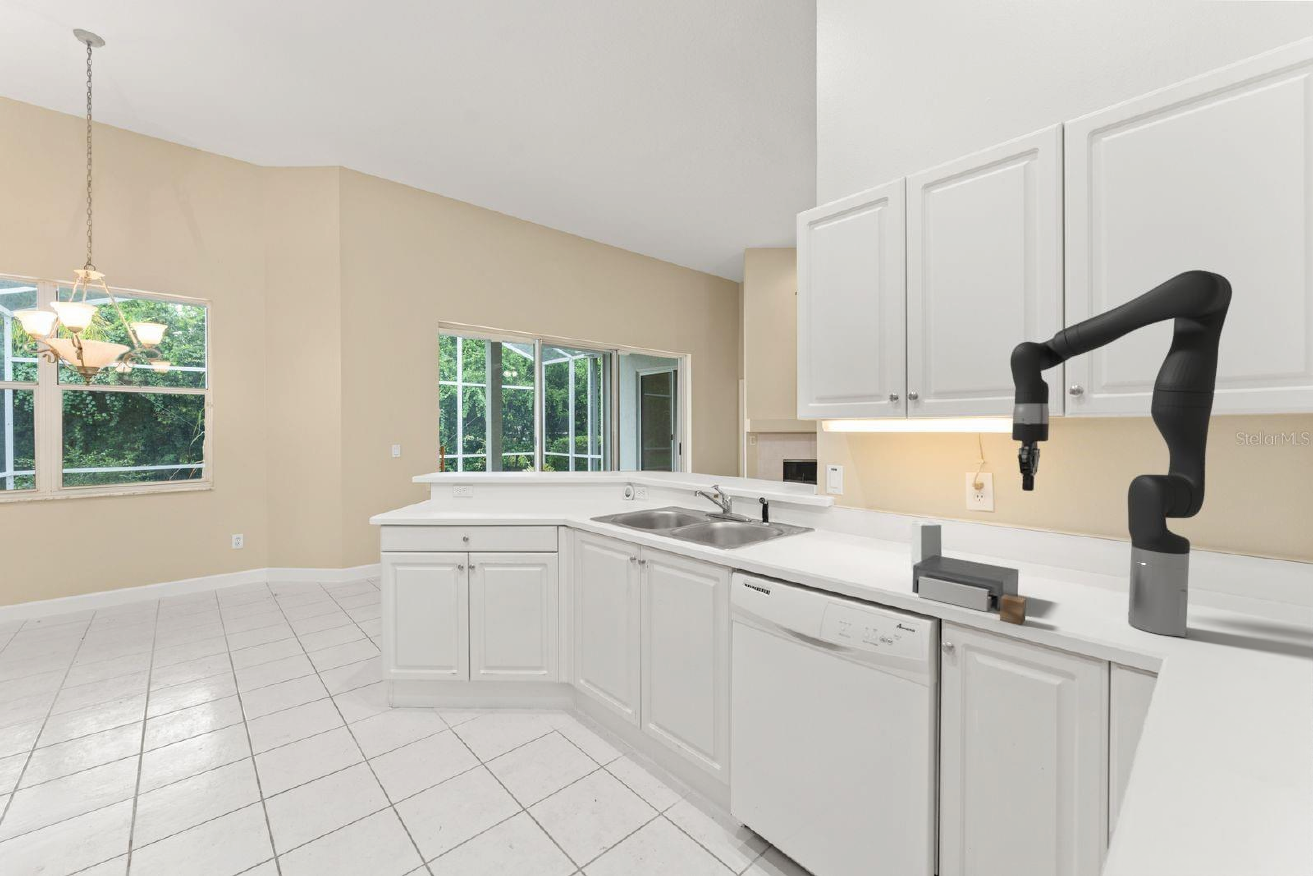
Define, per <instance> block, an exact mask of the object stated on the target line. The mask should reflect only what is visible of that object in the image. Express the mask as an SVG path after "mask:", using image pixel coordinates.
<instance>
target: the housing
mask: <svg viewBox="0 0 1313 876" xmlns="http://www.w3.org/2000/svg"><path fill="white" fill-rule="evenodd" d="M1019 572H1020V571H1019V569H1018V568H1013V567H1012V568H1011V567H1005V566H1002V565H1001V566H1000V565H995V564H994V565H993V564H988V563H982V562H977V561H971V560H966V559H959V558H951V557H948V556H943V555H942V556H936V555H933V556H931V557H929V558H927V559H925V560H923V561H921V562H919V563H917V564H915V565H913V570H912V593H914V594H918V590H919V577H920V576H921V577H926V578H931V579H936V580H941V581H946V582H951V583H956V584H961V585H966V586H972V587H977V588H982V589H987V590H989V592H988V594H989V595H994V596H998V597H997V608H996V609H997V610H996V611H997V612H1000V604H1001V597H1003V596H1004V595H1005V594H1006V595H1011V596H1016V597H1019V596H1018V595H1019V594H1018V593H1019V592H1018V591H1019Z"/></svg>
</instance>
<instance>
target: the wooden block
mask: <svg viewBox="0 0 1313 876" xmlns="http://www.w3.org/2000/svg"><path fill="white" fill-rule="evenodd" d="M1026 603H1027V598H1025V597H1020V596H1018V597H1016V596H1011V595H1006V594H1005V595H1004V596H1003V597H1001V604H1000V611H999V621H1001V622H1005V623H1010V624H1013V625H1018V626H1022V625H1023V624H1024V623H1025V622H1026V609H1027V607H1026V605H1027V604H1026Z"/></svg>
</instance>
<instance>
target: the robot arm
mask: <svg viewBox="0 0 1313 876" xmlns="http://www.w3.org/2000/svg"><path fill="white" fill-rule="evenodd" d="M1232 296H1233V287H1232V285H1231V282H1230V281H1229V280H1228V279H1227V278H1226V277H1225V276H1223V275H1221V274H1219V273H1216V272H1211V271H1207V270H1201V269H1199V270H1198V269H1195V270H1193V269H1192V270H1187V271H1184V272H1181V273H1179V274H1177V275H1175V276H1173V277H1171V278H1170V279H1168V280H1166V281H1164V282H1163V283H1161V284H1159V285H1157V286H1155V287H1154V288H1152V289H1151V290H1148V291H1146V292H1145V293H1143V294H1142V295H1139V296H1137V297H1135V298H1134V299H1131V300H1129V301H1128V302H1125V303H1123V304H1121V305H1119V306H1116V307H1115V308H1112V309H1110V310H1108V311H1105V312H1103V313H1101V314H1098V315H1096V316H1093V317H1091V318H1088V319H1084V320H1082V321H1080V322H1078V323H1075V324H1073V325H1071V326H1068V327H1066V328H1064V329H1061V330H1060V331H1057V332H1056V333H1055V334H1054V336H1053V337H1052V338H1051V339H1049V340H1046V341H1044V342H1033V341H1024V342H1023V341H1022V342H1021V343H1019V344H1017V345H1016V346H1015V347H1014V349H1013V350H1012V351H1011V355H1010V364H1009V365H1010V370H1011V374H1012V380H1013V383H1014V388H1015V390H1014V406H1013V413H1012V434H1011V435H1012V436H1011V437H1012V438H1011V439H1012V440H1013V441H1014V442H1015V441H1016V442H1017V441H1018V442H1019V441H1020V442H1021V447H1020V448H1018V455H1017V458H1018V459H1017V460H1018V464H1019V465H1018V467H1019V472H1020V474H1021V476H1022V484H1021V485H1022V486H1021V487H1022V491H1026V492H1033V491H1034V489H1035V476H1036V475H1037V473H1038V467H1039V462H1040V457H1041V448H1038V442H1048V440H1049V429H1050V428H1049V427H1050V426H1049V425H1050V410H1049V408H1050V407H1049V396H1050V395H1049V394H1050V393H1049V392H1050V390H1049V389H1050V387H1049V384H1048V382H1046V381H1045V380H1044V379H1043V377H1042V371H1046V370H1049V369H1052V368H1055V367H1056V366H1058V365H1060V364H1062V363H1063V364H1064V362H1067V361H1068V360H1070V359H1072V358H1074V357H1078V356H1079V355H1083V354H1086V353H1088V352H1091V351H1094V350H1096V349H1099V348H1102V347H1104V346H1107V345H1108V344H1110V343H1112V342H1115V341H1116V340H1119V339H1121V338H1122V337H1124V336H1126V335H1127V334H1130V333H1132V332H1134V331H1136V330H1138V329H1141V328H1144V327H1146V326H1149V325H1152V324H1156V323H1159V322H1165V321H1167V320H1174V321H1173V322H1174V323H1173V335H1172V341H1171V344H1170V347H1169V350H1168V352H1167V354H1166V356H1165V358H1164V360H1163V362H1162V364H1161V366H1160V368H1159V370H1158V373H1157V376H1156V377H1155V382H1154V386H1153V391H1152V397H1151V406H1150V414H1151V417H1152V420H1153V422H1154V425H1155V426H1156V428H1157V429H1158V431H1159V433H1160V434H1161V437H1162V438H1163V440H1164V442H1165V443H1166V446H1167V448H1168V452H1169V464H1168V465H1169V466H1168V473H1167V474H1150V473H1149V474H1140V475H1138V476H1135V478H1134V479H1132V481H1131V483H1129V487H1128V492H1127V516H1128V517H1127V518H1128V520H1127V521H1128V524H1127V525H1128V532H1129V535H1130V538H1131V544H1130V545H1131V547H1130V548H1131V549H1130V570H1129V590H1128V591H1129V593H1128V596H1129V597H1128V612H1127V622H1128V624H1129V625H1130V626H1132V627H1134V628H1137V629H1140V630H1142V631H1145V632H1149V633H1153V634H1159V635H1162V636H1163V635H1164V636H1172V637H1173V636H1175V637H1182V638H1187V625H1188V624H1187V619H1188V599H1189V597H1188V595H1189V569H1190V567H1189V565H1190V551H1191V542H1190V540H1189V539H1188V538H1186V537H1185V536H1182V535H1180V534H1177V533H1174V532H1172V531H1171V530H1169V528H1168V525H1167V519H1190V518H1193V517H1195V516H1196V515H1197V514H1198V513H1199V512H1200V510H1201V509H1202V507H1203V504H1204V501H1205V500H1204V499H1205V493H1206V492H1205V491H1206V451H1207V441H1208V433H1209V425H1210V419H1211V415H1212V409H1213V402H1214V399H1215V398H1214V397H1215V390H1216V378H1217V371H1218V370H1217V369H1218V362H1219V361H1218V360H1219V359H1218V358H1219V346H1220V340H1221V335H1222V331H1223V327H1224V324H1225V321H1226V317H1227V314H1228V311H1229V307H1230V305H1231V300H1232Z"/></svg>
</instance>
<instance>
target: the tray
mask: <svg viewBox="0 0 1313 876" xmlns="http://www.w3.org/2000/svg"><path fill="white" fill-rule="evenodd" d="M988 592H989V590H987V589H982V588H977V587H972V586H966V585H961V584H956V583H951V582H946V581H941V580H936V579H931V578H926V577H921V576H920V577H919V590H918V592H917V594H918V597H919V598H924V599H928V600H933V601H938V602H942V603H946V604H947V603H948V604H950V605H956V606H960V607H965V608H970V609H974V610H977V611H984V612H986V613H987V612H988V611H989V610H990V609H991V608H992V606H993V603H992V602H993V601H994V600H995V599H996V598H998V596H994V595H989V594H988Z"/></svg>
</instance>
